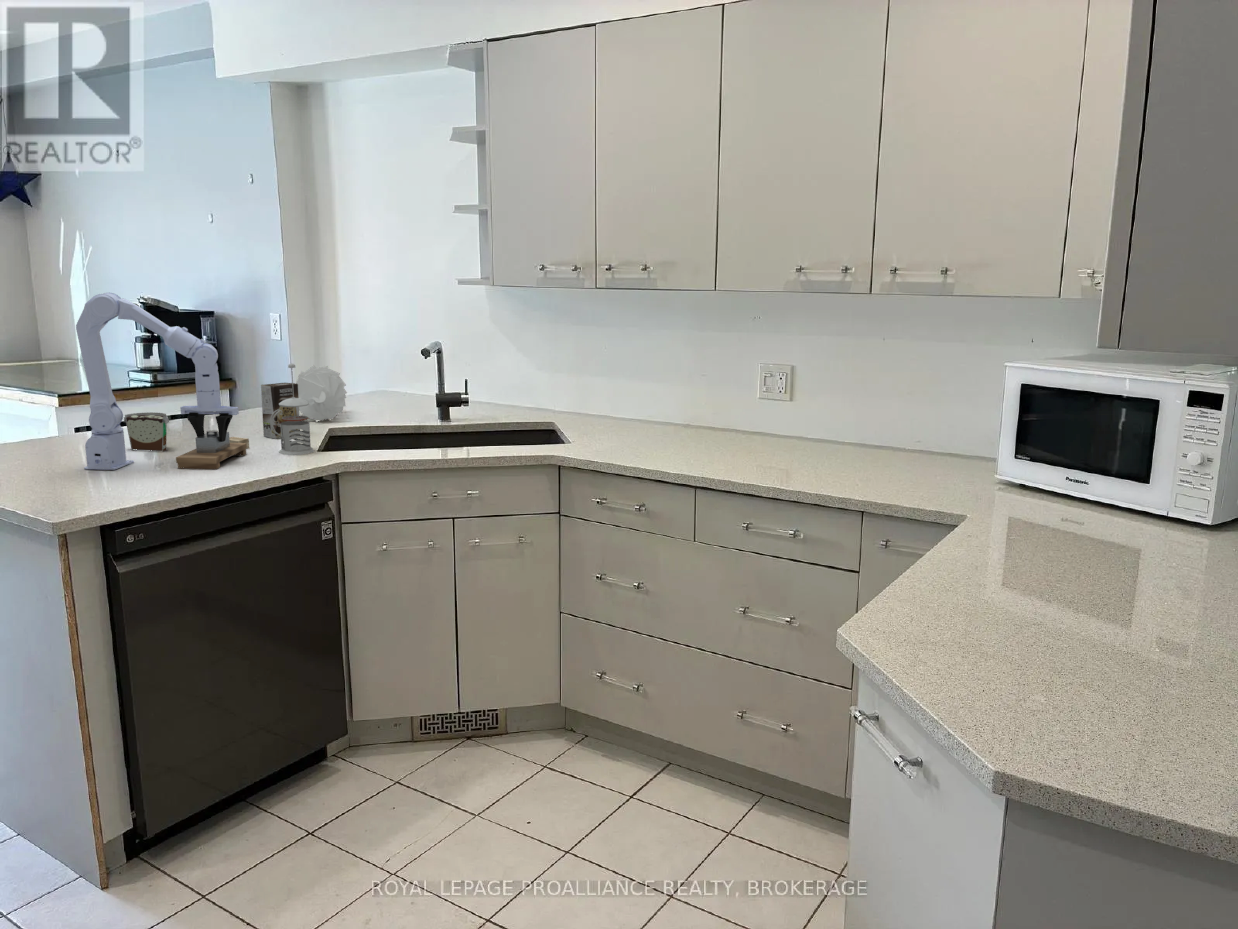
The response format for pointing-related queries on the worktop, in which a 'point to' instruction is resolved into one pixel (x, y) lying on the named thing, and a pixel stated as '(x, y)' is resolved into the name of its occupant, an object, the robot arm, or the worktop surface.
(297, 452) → the french press
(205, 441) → the block
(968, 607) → the worktop surface
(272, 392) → the coffee box
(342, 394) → the spiral staircase
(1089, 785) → the worktop surface
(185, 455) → the stand
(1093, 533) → the worktop surface
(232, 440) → the beech offcut
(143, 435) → the food container
